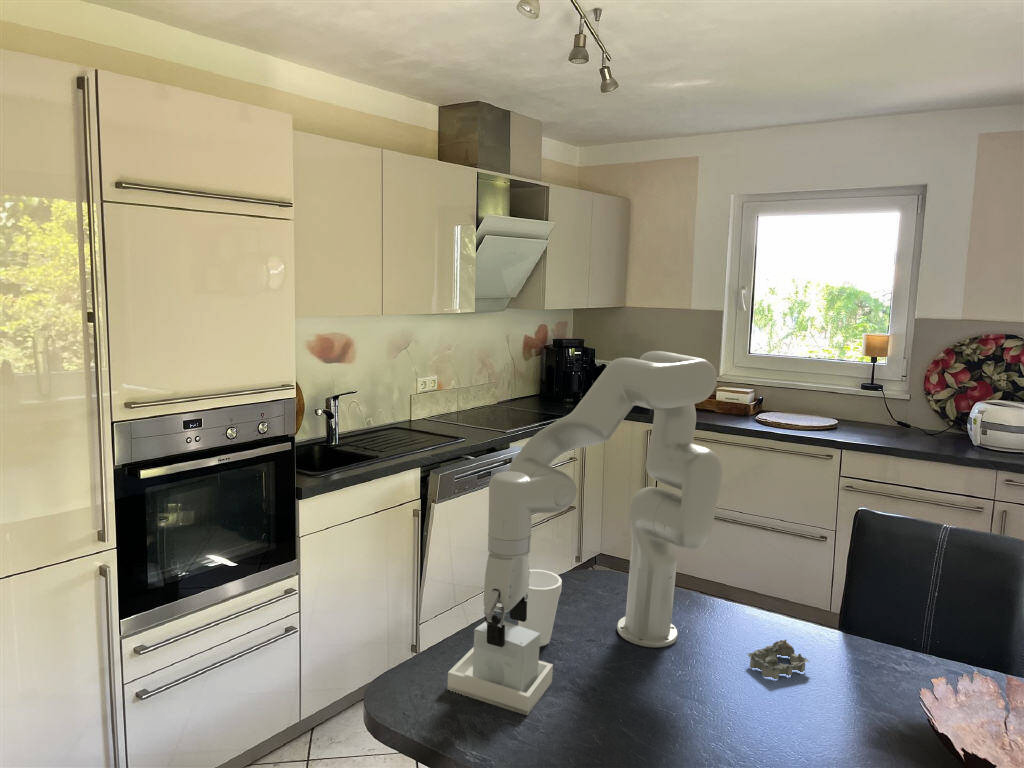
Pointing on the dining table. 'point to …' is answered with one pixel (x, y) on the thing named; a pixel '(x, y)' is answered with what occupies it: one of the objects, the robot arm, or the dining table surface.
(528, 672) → the skincare box
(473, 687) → the trough
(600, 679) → the dining table surface
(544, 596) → the foam cup
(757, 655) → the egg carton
